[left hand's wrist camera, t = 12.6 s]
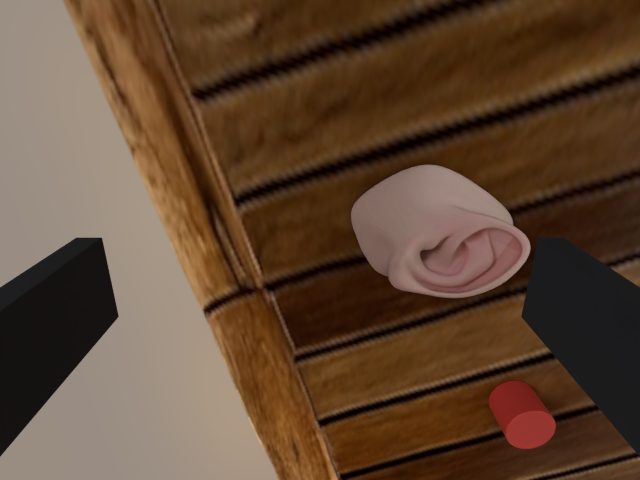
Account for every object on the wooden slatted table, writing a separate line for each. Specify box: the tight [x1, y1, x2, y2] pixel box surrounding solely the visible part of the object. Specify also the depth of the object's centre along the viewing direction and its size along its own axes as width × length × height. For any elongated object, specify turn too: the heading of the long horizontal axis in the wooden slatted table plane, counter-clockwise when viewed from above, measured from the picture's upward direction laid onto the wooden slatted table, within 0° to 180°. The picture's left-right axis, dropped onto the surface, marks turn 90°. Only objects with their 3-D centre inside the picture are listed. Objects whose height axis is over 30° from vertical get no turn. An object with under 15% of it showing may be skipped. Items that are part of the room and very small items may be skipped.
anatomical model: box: [351, 165, 530, 298], centre depth 34 cm, size 13×4×12 cm
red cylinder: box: [488, 381, 556, 449], centre depth 41 cm, size 5×5×4 cm
